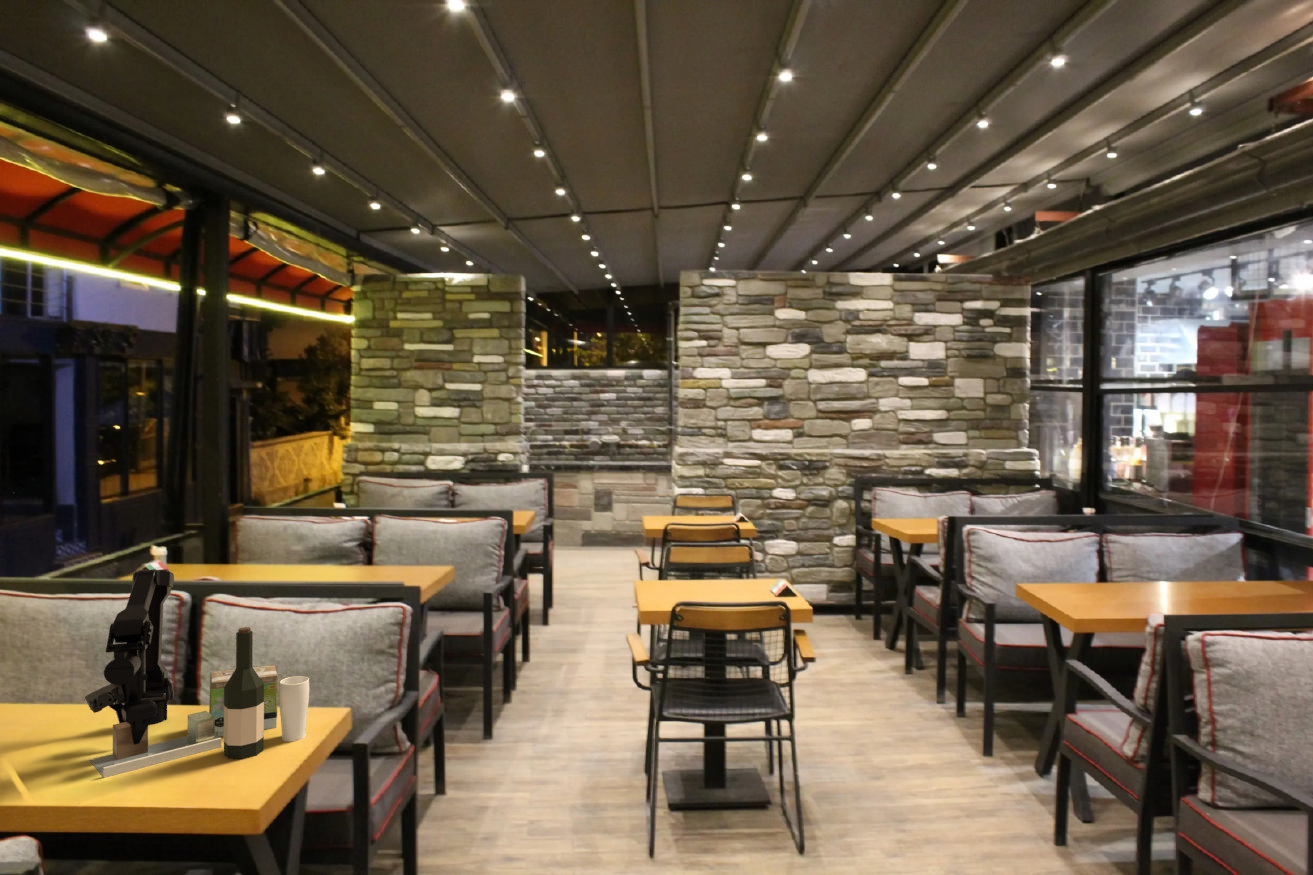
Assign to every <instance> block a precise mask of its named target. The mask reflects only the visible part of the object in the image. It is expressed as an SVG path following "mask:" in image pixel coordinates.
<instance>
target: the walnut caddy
mask: <svg viewBox="0 0 1313 875" xmlns="http://www.w3.org/2000/svg"><path fill="white" fill-rule="evenodd" d="M148 745H149V726H148V727H147V729H146V731H145V733H144V735H143V737H142V739H141V741H140V743H139V744H136V745H134V744H133V740H132V735H131V730H130V724H129V723H127V722H123V723H119V722H118V723H115V724H112V754H113V756H114V757H115V758H116V759H117V760H120V759H124V758H128V757H132V756H136V755H140V754H144V753H148Z"/></svg>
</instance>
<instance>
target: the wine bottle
mask: <svg viewBox="0 0 1313 875" xmlns="http://www.w3.org/2000/svg"><path fill="white" fill-rule="evenodd" d="M235 633H236V634H235V635H236V637H235V639H236V640H235V652H236V653H235V671H234V673H233V674H232V676H231V677H230V679H229V680H228V682H227V684H226V685H225V687H224V736H223V756H224V757H225V758H226V759H227V760H239V761H240V760H245V759H250V758H253V757H257V756H258V755H259V754H261V753H262V752H263V751H264V748H265V747H264V746H265V743H264V742H265V740H264V737H265V736H264V733H265V731H264V683H263V682H262V680H261V679H260V677H259V676H258V675H257V673H256V672H255V670H254V669H253V667H254V666H253V641H254V640H253V633H254V632H253V631H252V630H251V627H247V626H244V627H239V628H238V631H237V632H235Z"/></svg>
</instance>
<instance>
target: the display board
mask: <svg viewBox="0 0 1313 875" xmlns="http://www.w3.org/2000/svg"><path fill="white" fill-rule="evenodd" d="M187 740H188V735H185V736H181V737H177V738H176V737H175V738H173V739H168V740H164V741H161V742H157V743H153V744H148V753H144V754H140V755H136V756H132V757H128V758H124V759H120V760H117V759H116V758H115V757H114V756H113V753H112V754H109V755H105V756H100V757H96V758H91V759H89V760H88V761H89V762H90V763H91V764H92V766H93V767H94V768H95V769H96V771H98V773H99V774H100V775H101V776H102V778H104V779H106V778H109V777H114V776H117V775H121V774H124V773H128V772H133V771H136V770H140V769H143V768H149V767H151V766H154V765H156V766H157V765H159V764H162V763H167V762H170V761H175V760H178V759H182V758H185V757H190V756H193V755H197V754H200V753H205V752H208V751H213V750H215V749H216V750H217V749H220V748H222V738H221V737H216V738H215V739H213V740H209V741H205V742H201V743H197V744H193V745H190V744H189V743H188V744H187Z"/></svg>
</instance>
